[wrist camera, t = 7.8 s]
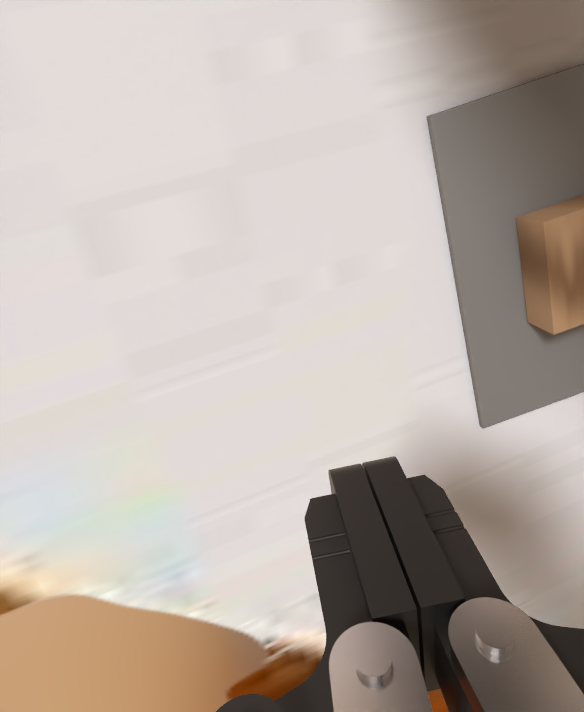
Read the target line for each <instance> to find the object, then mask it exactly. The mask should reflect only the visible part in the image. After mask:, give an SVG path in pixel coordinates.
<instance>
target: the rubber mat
mask: <svg viewBox="0 0 584 712" xmlns="http://www.w3.org/2000/svg"><path fill="white" fill-rule="evenodd" d="M427 121H428V127H429V133H430V139H431V144H432V150H433V156H434V162H435V168H436V173H437V179H438V185H439V191H440V197H441V203H442V208H443V214H444V220H445V226H446V232H447V237H448V243H449V249H450V255H451V261H452V267H453V272H454V278H455V284H456V290H457V296H458V301H459V307H460V313H461V319H462V325H463V331H464V336H465V342H466V348H467V354H468V360H469V365H470V371H471V377H472V383H473V389H474V395H475V400H476V406H477V412H478V418H479V424H480V426H481V427H482V428H486V427H489V426H492V425H494V424H497V423H500V422H502V421H505V420H508V419H511V418H513V417H516V416H519V415H522V414H524V413H527V412H530V411H533V410H535V409H538V408H541V407H543V406H546V405H549V404H552V403H554V402H557V401H560V400H563V399H565V398H568V397H571V396H574V395H576V394H579V393H582V392H584V324H583V325H580V326H577V327H574V328H571V329H569V330H566V331H563V332H560V333H557V334H555V335H553V334H551V333H549V332H547V331H545V330H543V329H541V328H539V327H537V326H535V325H533V324H531V323H529V322H528V320H527V311H526V302H525V293H524V285H523V276H522V267H521V258H520V250H519V241H518V232H517V223H516V218H517V217H519V216H522V215H525V214H528V213H531V212H534V211H537V210H540V209H543V208H545V207H548V206H551V205H554V204H557V203H560V202H563V201H566V200H568V199H571V198H574V197H577V196H580V195H583V194H584V64H582V65H579V66H577V67H574V68H571V69H568V70H565V71H562V72H559V73H556V74H553V75H550V76H547V77H544V78H541V79H538V80H535V81H532V82H529V83H526V84H523V85H520V86H517V87H514V88H511V89H508V90H505V91H502V92H499V93H496V94H493V95H490V96H487V97H484V98H481V99H478V100H475V101H472V102H469V103H466V104H463V105H460V106H457V107H454V108H451V109H448V110H445V111H442V112H439V113H436V114H433V115H430V116H427Z"/></svg>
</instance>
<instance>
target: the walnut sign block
mask: <svg viewBox="0 0 584 712" xmlns="http://www.w3.org/2000/svg"><path fill="white" fill-rule="evenodd" d="M516 223H517V232H518V241H519V250H520V258H521V267H522V276H523V285H524V293H525V302H526V311H527V320H528V322H529V323H531V324H533V325H535V326H537V327H539V328H541V329H543V330H545V331H547V332H549V333H551V334H553V335H555V334H557V333H560V332H563V331H566V330H569V329H571V328H574V327H577V326H580V325H583V324H584V194H583V195H580V196H577V197H574V198H571V199H568V200H566V201H563V202H560V203H557V204H554V205H551V206H548V207H545V208H543V209H540V210H537V211H534V212H531V213H528V214H525V215H522V216H519V217H517V218H516Z"/></svg>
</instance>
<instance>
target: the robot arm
mask: <svg viewBox="0 0 584 712" xmlns="http://www.w3.org/2000/svg"><path fill="white" fill-rule="evenodd" d="M329 479H330V485H331V491H332V494H331V495H326V496H322V497H317V498H312V499H310V502H309V506H308V509H307V512H306V515H305V524H306V529H307V534H308V539H309V544H310V550H311V555H312V560H313V565H314V570H315V575H316V581H317V586H318V591H319V596H320V601H321V606H322V612H323V617H324V622H325V627H326V635H327V636H326V647H325V652H324V654H323V657H322V660H321V661H320V663H319V665H318V667H317V668H316V670H315V671H314V672H313V674H312V675H311V676H310V677H309V678H308V679H307V680H306V681H304V682H303V683H302V684H300V685H299V686H297V687H296V688H294V689H293V690H291V691H289V692H288V693H286V694H285V695H283V696H282V697H280V698H279V699H277V700H275V701H274V700H273V699H271V698H268V697H266V696H263V695H259V694H247V695H242V696H239V697H236V698H234V699H232V700H230V701H228V702H227V703H225V704H224V705H223V706H221V707H220V708H219V709H218V710H217V711H216V712H433V711H432V707H431V704H430V700H429V696H428V693H427V691H431V690H435V689H441V691H442V694H443V697H444V699H445V702H446V705H447V707H448V710H449V712H584V629H578V628H568V627H560V626H554V625H550V624H546V623H543V622H540V621H538V620H535V619H533V618H531V617H530V616H528V615H527V614H525V613H524V612H523V611H522V610H520V609H519V608H518V607H516V606H514V605H513V604H512V603H511V602H510V601H509V600H508V599H507V598H506V597H505V595H504V594H503V593H502V591H501V590H500V588H499V586H498V584H497V583H496V581H495V579H494V577H493V576H492V574H491V572H490V570H489V569H488V567H487V565H486V563H485V562H484V560H483V558H482V556H481V555H480V553H479V551H478V549H477V548H476V546H475V544H474V542H473V541H472V539H471V537H470V535H469V534H468V532H467V530H466V529H464V526H463V523H462V521H461V520H460V518H459V516H458V514H457V513H456V512H455V511H454V507H453V506H452V504H451V502H450V500H449V499H448V497H447V495H446V493H445V492H444V490H443V489H442V488H441V487H440V486H438V485H437V484H436V483H434V482H433V481H432V480H431V479H429V478H428V477H427V476H425V475H421V476H416V477H412V478H406V476H405V474H404V472H403V470H402V468H401V466H400V464H399V462H398V460H397V458H396V457H389V458H384V459H379V460H374V461H369V462H365V463H362V465H361V464H356V465H351V466H346V467H341V468H336V469H332V470H329Z"/></svg>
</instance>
